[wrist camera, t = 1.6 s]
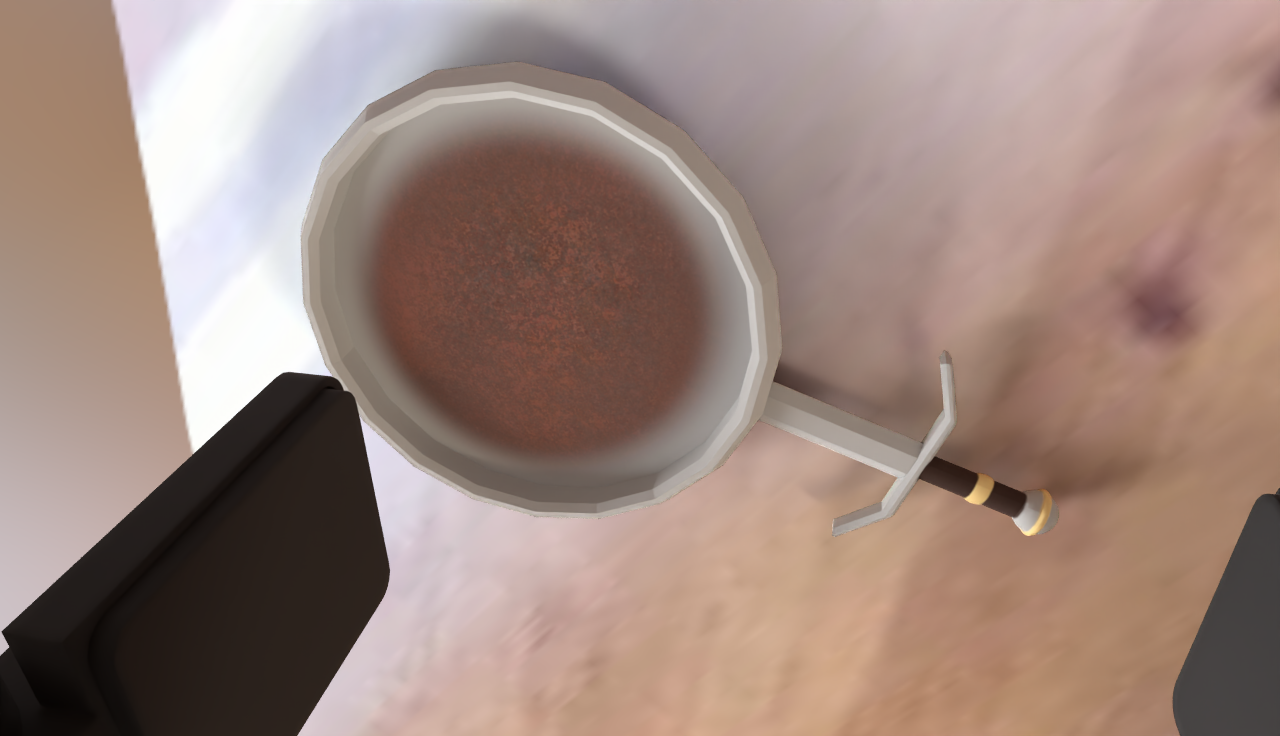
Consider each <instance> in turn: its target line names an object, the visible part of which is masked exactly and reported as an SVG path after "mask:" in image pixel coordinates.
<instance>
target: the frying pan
mask: <svg viewBox="0 0 1280 736" xmlns="http://www.w3.org/2000/svg"><path fill="white" fill-rule="evenodd" d="M301 257H302V282H303V303H304V306H305V309H306V312H307V315H308V317H309V320H310V323H311V326H312V329H313V332H314V334H315V337H316V340H317V343H318V346H319V348H320V351H321V354H322V357H323V360H324V363H325V365H326V367H327V368H328V370H329V371H330V373H331V374H332V376H333V377H334V378H336V379H338V380H339V382H340V383H341V384H342V386H343V389H344V391H349V392H351V393H352V394H353V396H354V397H355V400H356V403H357V407H358V412H359V415H360V417H361V418H362V419H363V421H364V422H365V423H366V424H367V425H368V426H370V427H371V428H372V429H373V430H374V431H375V432H376V433H377V434H378V435H380V436H381V437H382V438H383V439H384V440H385V441H386V442H387V443H388V444H390V445H391V446H392V447H393V448H394V449H395V450H396V451H397V452H398V453H400V454H401V455H402V456H403V457H404V458H405V459H406V460H407V461H408V462H410V463H411V464H412V465H413V466H414V467H416V468H418V469H419V470H421V471H423V472H425V473H427V474H428V475H430V476H432V477H434V478H436V479H437V480H439V481H441V482H443V483H445V484H446V485H448V486H450V487H452V488H454V489H455V490H457V491H459V492H461V493H463V494H464V495H466V496H468V497H470V498H472V499H474V500H478V501H481V502H485V503H488V504H492V505H495V506H499V507H502V508H506V509H509V510H513V511H516V512H520V513H523V514H527V515H530V516H534V517H554V518H585V519H601V518H605V517H609V516H613V515H617V514H621V513H625V512H629V511H633V510H637V509H641V508H645V507H649V506H653V505H657V504H660V503H662V502H664V501H666V500H668V499H670V498H671V497H673V496H674V495H676V494H678V493H679V492H681V491H682V490H684V489H686V488H687V487H689V486H691V485H692V484H694V483H695V482H697V481H699V480H700V479H702V478H703V477H705V476H707V475H708V474H710V473H711V472H713V471H715V470H716V469H718V468H719V467H721V466H723V464H724V463H725V462H726V461H727V459H728V458H729V457H730V456H731V454H732V453H733V452H734V450H735V449H736V448H737V447H738V445H739V444H740V443H741V441H742V440H743V439H744V438H745V436H746V435H747V434H748V433H749V431H750V430H751V429H752V427H753V426H754V425H755V424H756V422H757V421H758V420H760V421H762V422H765V423H767V424H769V425H772V426H774V427H777V428H779V429H782V430H784V431H786V432H789V433H791V434H794V435H796V436H799V437H801V438H803V439H806V440H808V441H811V442H813V443H815V444H818V445H820V446H823V447H825V448H828V449H830V450H832V451H835V452H837V453H840V454H842V455H844V456H847V457H849V458H852V459H854V460H857V461H859V462H861V463H864V464H866V465H869V466H871V467H873V468H876V469H878V470H881V471H883V472H886V473H888V474H890V475H893V476H895V477H898V478H897V479H896V481H895V482H894V484H893V485H892V487H891V488H890V490H889V491H888V493H887V494H886V496H885V497H884V499H883V500H882V502H879V503H876V504H873V505H871V506H868V507H865V508H863V509H860V510H857V511H854V512H852V513H849V514H846V515H844V516H841V517H838V518H835V519H833V532H832V536H834V537H836V536H839V535H841V534H844V533H847V532H850V531H853V530H856V529H858V528H861V527H864V526H867V525H870V524H873V523H875V522H878V521H881V520H884V519H887V518H890V517H892V516H893V515H894V514H895V513H896V511H897V510H898V508H899V507H900V505H901V504H902V503H903V501H904V500H905V498H906V497H907V495H908V494H909V492H910V491H911V490H912V488H913V487H914V485H915V484H916V482H917V481H918V479H921V480H924V481H926V482H928V483H931V484H933V485H936V486H938V487H941V488H943V489H945V490H948V491H950V492H953V493H955V494H957V495H960V496H962V497H963V498H964V499H965V500H966V501H968V502H970V503H973V504H978V505H979V504H982V505H984V506H986V507H989V508H991V509H994V510H996V511H999V512H1001V513H1003V514H1006V515H1008V516H1011V517H1012V518H1013V521H1014V523H1015V524H1016V525H1017V526H1018V527H1019V528H1020V529H1021V531H1022V533H1024V534H1025V535H1026V536H1033V535H1035V534H1043V533H1046V532H1048V531H1050V530H1051V529H1052V528H1053V527H1054V526H1055V525H1056V523H1057V521H1058V518H1059V509H1058V506H1057V504H1056V502H1055V501H1054V499H1053V498H1052V497H1051V495H1050V494H1049V492H1048V491H1046V490H1045V489H1038V490H1029V491H1025V492H1020V491H1018V490H1015V489H1013V488H1010V487H1008V486H1005V485H1003V484H1001V483H998V482H996V481H994V480H993V479H992V478H991V477H990V476H988V475H985V474H982V473H974V472H972V471H969V470H967V469H964V468H962V467H959V466H957V465H955V464H952V463H950V462H947V461H945V460H943V459H940V458H938V457H935V455H936V453H937V452H938V450H939V449H940V447H941V446H942V444H943V443H944V442H945V440H946V439H947V437H948V436H949V434H950V433H951V431H952V430H953V428H954V427H955V426H956V423H957V413H956V400H955V387H954V374H953V364H952V358H951V356H950V354H949V353H948V352H947V351H945V350H944V352H943V353H942V354H941V355H940V368H941V380H942V392H943V404H944V409H943V411H942V412H941V414H940V415H939V417H938V418H937V420H936V421H935V422H934V424H933V425H932V427H931V428H930V430H929V431H928V433H927V434H926V436H925V437H924V439H923V440H922V442H919V441H916V440H914V439H912V438H909V437H907V436H904V435H902V434H899V433H897V432H895V431H892V430H890V429H887V428H885V427H883V426H880V425H878V424H875V423H873V422H870V421H868V420H866V419H863V418H861V417H858V416H856V415H853V414H851V413H849V412H846V411H844V410H841V409H839V408H837V407H834V406H832V405H829V404H827V403H824V402H822V401H820V400H817V399H815V398H812V397H810V396H808V395H805V394H803V393H800V392H798V391H795V390H793V389H791V388H788V387H786V386H783V385H781V384H778V383H776V382H774V381H773V378H774V375H775V372H776V368H777V365H778V362H779V359H780V355H781V352H782V339H781V326H780V313H779V300H778V287H777V274H776V272H775V269H774V267H773V265H772V262H771V260H770V258H769V256H768V253H767V251H766V249H765V246H764V244H763V242H762V239H761V237H760V235H759V232H758V230H757V228H756V225H755V223H754V221H753V218H752V216H751V214H750V211H749V209H748V207H747V205H746V202H745V200H744V198H743V197H742V195H741V194H740V193H739V192H738V191H737V190H736V189H735V187H734V186H733V185H732V184H731V183H730V182H729V181H728V180H727V178H726V177H725V176H724V175H723V174H722V173H721V172H720V170H719V169H718V168H717V167H716V166H715V165H714V164H713V162H712V161H711V160H710V159H709V158H708V157H707V156H706V155H705V153H704V152H703V151H702V150H701V149H700V148H699V147H698V145H697V144H696V143H695V142H694V141H693V140H692V139H691V138H690V136H689V135H688V134H687V133H686V132H685V131H684V130H683V129H681V128H679V127H678V126H676V125H675V124H673V123H671V122H670V121H668V120H666V119H665V118H663V117H662V116H660V115H658V114H657V113H655V112H653V111H652V110H650V109H649V108H647V107H645V106H644V105H642V104H640V103H639V102H637V101H636V100H634V99H632V98H631V97H629V96H627V95H626V94H624V93H623V92H621V91H619V90H618V89H616V88H614V87H613V86H611V85H610V84H608V83H606V82H603V81H599V80H595V79H591V78H586V77H582V76H578V75H574V74H569V73H565V72H561V71H557V70H552V69H548V68H544V67H540V66H535V65H531V64H527V63H523V62H518V61H517V62H508V63H498V64H489V65H480V66H470V67H461V68H451V69H442V70H435V71H433V72H431V73H429V74H427V75H425V76H423V77H421V78H419V79H417V80H415V81H413V82H412V83H410V84H408V85H406V86H404V87H402V88H400V89H398V90H396V91H394V92H392V93H390V94H388V95H387V96H385V97H383V98H381V99H379V100H377V101H375V102H373V103H371V104H369V105H368V106H367V107H366V108H365V109H364V110H363V112H362V113H361V114H360V115H359V116H358V118H357V119H356V120H355V121H354V122H353V124H352V125H351V126H350V127H349V128H348V130H347V131H346V132H345V133H344V134H343V136H342V137H341V138H340V139H339V140H338V142H337V143H336V144H335V145H334V146H333V148H332V149H331V150H330V151H329V152H328V154H327V155H326V156H325V157H324V158H323V160H322V163H321V166H320V169H319V172H318V175H317V179H316V182H315V185H314V188H313V191H312V194H311V197H310V201H309V204H308V207H307V210H306V213H305V216H304V219H303V223H302V229H301Z"/></svg>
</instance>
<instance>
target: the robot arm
mask: <svg viewBox="0 0 1280 736" xmlns="http://www.w3.org/2000/svg"><path fill="white" fill-rule="evenodd" d="M389 575H390V568H389V561H388V557H387V552H386V547H385V542H384V537H383V532H382V527H381V522H380V517H379V512H378V507H377V502H376V497H375V492H374V487H373V482H372V477H371V472H370V467H369V462H368V457H367V452H366V447H365V442H364V437H363V432H362V427H361V422H360V417H359V412H358V407H357V403H356V400H355V397H354V396H353V394H352V393H351V392H349V391H344V389H343V386H342V384H341V383H340V382H339V380H338V379H336V378H334V377H331V376H322V375H313V374H303V373H294V372H286V373H282V374H281V375H279V376H278V377H276V378H275V379H274V380H273V381H272V382H271V383H270V384H269V385H268V386H267V387H265V388H264V389H263V390H262V391H261V392H260V393H259V394H258V395H257V396H256V397H255V398H254V399H252V400H251V401H250V402H249V403H248V404H247V405H246V406H245V407H244V408H243V409H242V410H241V411H240V412H238V413H237V414H236V415H235V416H234V417H233V418H232V419H231V420H230V421H229V422H228V423H227V424H225V425H224V426H223V427H222V428H221V429H220V430H219V431H218V432H217V433H216V434H215V435H214V436H212V437H211V438H210V439H209V440H208V441H207V442H206V443H205V444H204V445H203V446H202V447H201V448H200V449H198V450H197V451H196V452H195V453H194V454H193V455H192V456H191V457H190V458H189V459H188V460H187V461H186V462H184V463H183V464H182V465H181V466H180V467H179V468H178V469H177V470H176V471H175V472H174V473H173V474H171V475H170V476H169V477H168V478H167V479H166V480H165V481H164V482H163V483H162V484H161V485H160V486H159V487H157V488H156V489H155V490H154V491H153V492H152V493H151V494H150V495H149V496H148V497H147V498H146V499H144V500H143V501H142V502H141V503H140V504H139V505H138V506H137V507H136V508H135V509H134V510H132V512H130V513H129V514H128V515H127V516H126V517H125V518H124V519H123V520H122V521H121V522H120V523H118V524H117V525H116V526H115V527H114V528H113V529H112V530H111V531H110V532H109V533H108V534H107V535H105V536H104V537H103V538H102V539H101V540H100V541H99V542H98V543H97V544H96V545H95V546H94V547H92V548H91V549H90V550H89V551H88V552H87V553H86V554H85V555H84V556H83V557H82V558H81V559H80V560H79V561H77V562H76V563H75V564H74V565H73V566H72V567H71V568H70V569H69V570H68V571H67V572H65V573H64V574H63V575H62V576H61V577H60V578H59V579H58V580H57V581H56V582H55V583H54V584H52V585H51V586H50V587H49V588H48V589H47V590H46V591H45V592H44V593H43V594H42V595H41V596H39V597H38V598H37V599H36V600H35V601H34V602H33V603H32V604H31V605H30V606H29V607H28V608H27V609H25V610H24V611H23V612H22V613H21V614H20V615H19V616H18V617H17V618H16V619H15V620H14V621H12V622H11V623H10V624H9V625H8V626H7V627H6V628H5V629H4V630H3V631H2V634H3V635H4V637H5V639H6V641H7V643H8V645H9V648H8V649H7V650H6V651H5V652H4V653H3V654H2V655H1V656H0V736H297V735H298V734H299V732H300V730H301V729H302V727H303V726H304V724H305V722H306V721H307V719H308V718H309V716H310V714H311V713H312V711H313V710H314V708H315V706H316V705H317V703H318V702H319V700H320V698H321V697H322V695H323V694H324V692H325V690H326V689H327V687H328V686H329V684H330V682H331V681H332V679H333V678H334V676H335V674H336V673H337V671H338V670H339V668H340V666H341V665H342V663H343V662H344V660H345V658H346V657H347V655H348V654H349V652H350V650H351V649H352V647H353V646H354V644H355V642H356V641H357V639H358V638H359V636H360V634H361V633H362V631H363V630H364V628H365V626H366V625H367V623H368V622H369V620H370V618H371V617H372V615H373V614H374V612H375V610H376V609H377V607H378V606H379V604H380V602H381V601H382V599H383V597H384V595H385V593H386V590H387V587H388V582H389ZM1173 712H1174V718H1175V721H1176V725H1177V728H1178V730H1179V733H1180V736H1280V488H1279V489H1278V491H1277V492H1276V494H1264V495H1262V496H1260V497H1259V498H1258V499H1257V500H1256V502H1255V504H1254V506H1253V508H1252V510H1251V512H1250V514H1249V517H1248V519H1247V521H1246V524H1245V526H1244V528H1243V530H1242V533H1241V535H1240V537H1239V539H1238V542H1237V544H1236V546H1235V549H1234V551H1233V553H1232V555H1231V558H1230V560H1229V562H1228V565H1227V567H1226V569H1225V571H1224V574H1223V576H1222V578H1221V581H1220V583H1219V585H1218V587H1217V590H1216V592H1215V594H1214V596H1213V599H1212V601H1211V603H1210V606H1209V608H1208V610H1207V612H1206V615H1205V617H1204V619H1203V622H1202V624H1201V626H1200V628H1199V631H1198V633H1197V635H1196V638H1195V640H1194V642H1193V644H1192V647H1191V649H1190V651H1189V654H1188V656H1187V658H1186V660H1185V663H1184V665H1183V667H1182V669H1181V672H1180V674H1179V676H1178V679H1177V681H1176V684H1175V687H1174V692H1173Z"/></svg>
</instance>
